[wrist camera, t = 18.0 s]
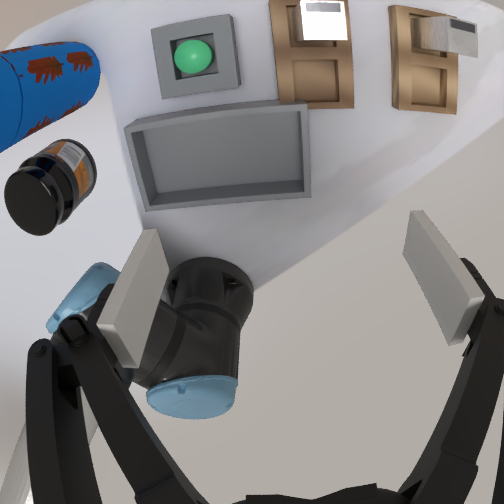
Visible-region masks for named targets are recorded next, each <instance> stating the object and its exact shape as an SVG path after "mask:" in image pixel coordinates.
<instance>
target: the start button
mask: <svg viewBox="0 0 504 504" xmlns="http://www.w3.org/2000/svg"><path fill="white" fill-rule="evenodd" d="M174 60H175V63H176V65H177V67H178V68H179V69H180V70H181V71H183V72H185V73H197V72H200V71H203V70H205V69H207V68H208V67H209V66H210V65H211V64H212V62H213V60H214V51H213V49H212V47H211V46H210V45H209V44H208V43H206V42H204V41H200V40H188V41H185V42H183V43H182V44H181V45H180V46H179V47H178V48H177V49H176V52H175V55H174Z"/></svg>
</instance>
